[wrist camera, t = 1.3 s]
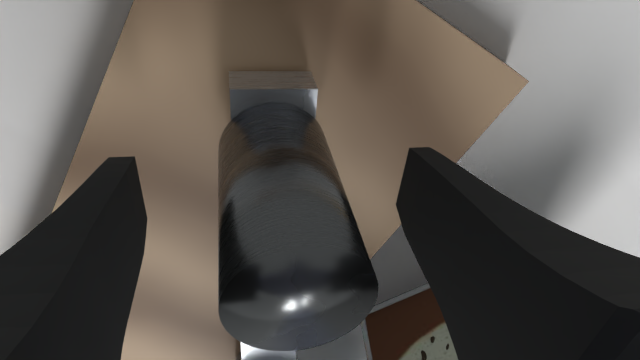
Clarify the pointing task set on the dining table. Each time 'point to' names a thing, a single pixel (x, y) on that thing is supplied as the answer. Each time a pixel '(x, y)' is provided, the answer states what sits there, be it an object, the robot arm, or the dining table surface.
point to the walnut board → (214, 115)
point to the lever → (285, 224)
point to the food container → (408, 329)
